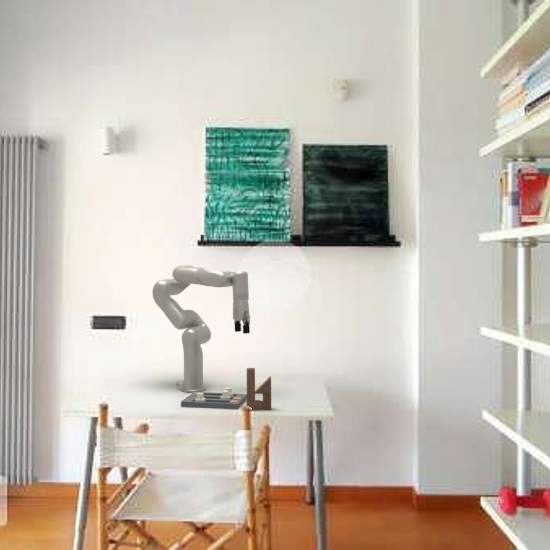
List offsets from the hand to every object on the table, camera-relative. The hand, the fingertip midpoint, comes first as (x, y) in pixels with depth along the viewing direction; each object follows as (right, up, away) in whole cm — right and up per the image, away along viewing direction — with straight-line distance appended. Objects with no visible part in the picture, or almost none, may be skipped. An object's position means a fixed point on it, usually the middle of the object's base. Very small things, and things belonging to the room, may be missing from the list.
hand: (242, 332), depth 270 cm
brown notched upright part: (+9, -31, -25) cm, 41 cm away
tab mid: (-7, -30, -15) cm, 34 cm away
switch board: (-12, -31, -14) cm, 36 cm away
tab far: (-6, -30, -9) cm, 31 cm away
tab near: (-18, -30, -19) cm, 40 cm away
